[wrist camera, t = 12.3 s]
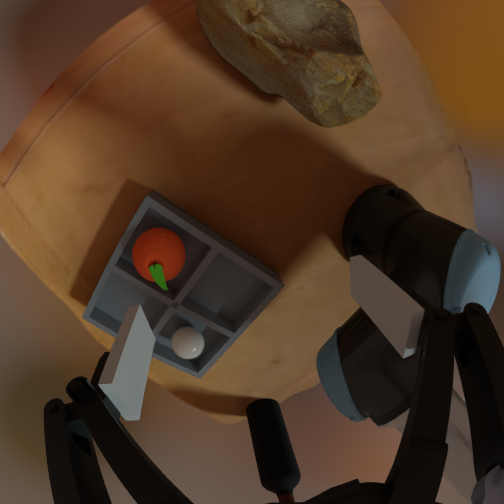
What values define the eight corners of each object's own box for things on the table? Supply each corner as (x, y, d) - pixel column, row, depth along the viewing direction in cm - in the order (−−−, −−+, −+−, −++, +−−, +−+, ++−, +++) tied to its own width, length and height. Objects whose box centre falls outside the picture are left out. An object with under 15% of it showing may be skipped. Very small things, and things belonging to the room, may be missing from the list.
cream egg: (210, 329, 44) (211, 350, 39) (193, 348, 45) (193, 370, 40) (182, 314, 42) (180, 335, 37) (166, 335, 43) (163, 356, 38)
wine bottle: (276, 395, 54) (315, 518, 27) (281, 412, 57) (316, 522, 30) (242, 403, 54) (268, 529, 27) (250, 420, 57) (275, 532, 30)
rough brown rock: (370, 86, 34) (439, 67, 20) (296, 145, 35) (356, 137, 21) (273, -20, 26) (307, -75, 12) (184, 26, 27) (183, -38, 13)
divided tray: (277, 273, 43) (284, 285, 39) (199, 362, 47) (199, 378, 44) (152, 189, 35) (146, 195, 31) (89, 304, 40) (82, 317, 36)
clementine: (195, 268, 39) (194, 293, 33) (150, 279, 39) (141, 305, 32) (179, 215, 36) (173, 231, 30) (131, 228, 36) (117, 247, 29)
